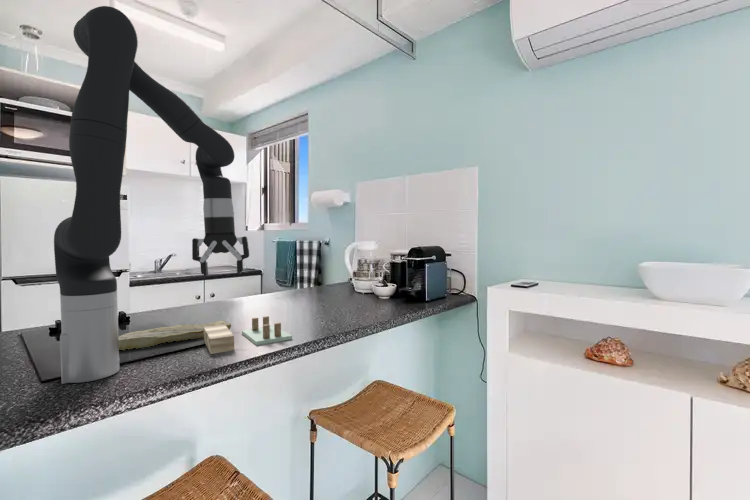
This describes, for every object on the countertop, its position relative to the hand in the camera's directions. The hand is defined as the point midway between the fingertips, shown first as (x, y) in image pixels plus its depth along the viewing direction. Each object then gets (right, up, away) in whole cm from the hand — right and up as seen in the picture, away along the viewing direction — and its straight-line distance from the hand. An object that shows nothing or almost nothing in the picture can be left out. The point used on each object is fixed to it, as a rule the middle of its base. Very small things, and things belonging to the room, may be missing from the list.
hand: (222, 274), depth 100 cm
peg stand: (+11, -18, +4) cm, 21 cm away
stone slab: (-15, -19, +3) cm, 24 cm away
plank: (0, -19, -4) cm, 19 cm away
